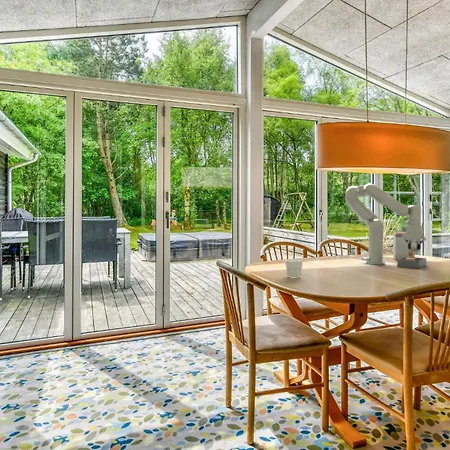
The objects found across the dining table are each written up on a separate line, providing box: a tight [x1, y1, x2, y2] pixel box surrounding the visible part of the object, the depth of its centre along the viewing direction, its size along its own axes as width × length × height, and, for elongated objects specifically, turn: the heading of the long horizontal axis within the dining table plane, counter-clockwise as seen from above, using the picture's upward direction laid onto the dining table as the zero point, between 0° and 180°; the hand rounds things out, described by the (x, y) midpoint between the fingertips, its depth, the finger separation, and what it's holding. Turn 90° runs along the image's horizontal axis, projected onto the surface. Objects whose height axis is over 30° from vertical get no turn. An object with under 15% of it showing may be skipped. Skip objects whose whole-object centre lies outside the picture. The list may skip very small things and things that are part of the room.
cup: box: [284, 258, 303, 277], centre depth 221 cm, size 10×10×10 cm
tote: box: [396, 256, 427, 270], centre depth 256 cm, size 18×14×5 cm
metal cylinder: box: [410, 240, 419, 252], centre depth 258 cm, size 5×5×7 cm
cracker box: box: [392, 231, 416, 261], centre depth 285 cm, size 14×6×21 cm, turn 84°
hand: (414, 249), depth 258 cm, fingers closed on metal cylinder, 5 cm apart
